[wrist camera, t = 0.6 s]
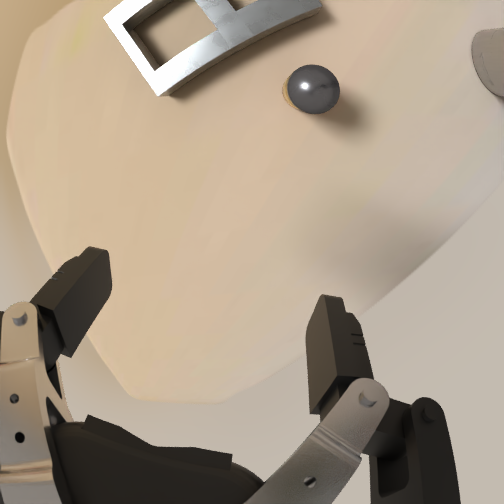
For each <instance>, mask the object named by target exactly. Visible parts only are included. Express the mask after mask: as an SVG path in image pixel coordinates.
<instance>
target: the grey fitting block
mask: <svg viewBox="0 0 504 504" xmlns="http://www.w3.org/2000/svg"><path fill="white" fill-rule="evenodd" d="M171 1H173V0H124V1H123V2H122V3H120V4H119V5H118V6H117V7H116V8H114V9H113V10H112V11H111V12H110V13H108V14H107V15H106V16H105V17H104V19H105V20H106V22H107V23H108V25H109V26H110V28H111V29H112V31H113V32H114V33H115V35H116V36H117V38H118V39H119V41H120V42H121V43H122V45H123V46H124V48H125V49H126V51H127V52H128V54H129V55H130V56H131V58H132V59H133V61H134V62H135V64H136V65H137V67H138V68H139V70H140V71H141V72H142V74H143V75H144V77H145V78H146V80H147V81H148V83H149V84H150V86H151V87H152V89H153V90H154V91H155V93H156V94H157V96H168V95H170V94H171V93H173V92H174V91H175V90H177V89H178V88H180V87H181V86H183V85H184V84H185V83H187V82H188V81H190V80H191V79H193V78H194V77H196V76H198V75H199V74H201V73H202V72H204V71H205V70H207V69H208V68H210V67H212V66H213V65H215V64H217V63H218V62H220V61H222V60H223V59H225V58H227V57H228V56H230V55H232V54H234V53H235V52H237V51H239V50H241V49H243V48H244V47H246V46H248V45H250V44H252V43H254V42H256V41H258V40H260V39H262V38H264V37H266V36H268V35H270V34H272V33H274V32H276V31H278V30H280V29H282V28H284V27H287V26H289V25H291V24H293V23H296V22H298V21H300V20H303V19H305V18H308V17H310V16H313V15H315V14H318V12H319V10H320V9H321V7H322V4H321V3H320V2H319V0H258V1H256V2H253V3H251V4H249V5H247V6H245V7H243V8H241V9H239V10H237V11H235V10H234V8H233V7H232V6H231V5H230V3H229V2H228V1H227V0H195V1H196V2H197V3H198V5H199V6H200V7H201V8H202V10H203V11H204V12H205V13H206V15H207V16H208V17H209V19H210V20H211V21H212V23H213V24H214V25H215V27H216V28H217V29H218V30H216V31H215V32H213V33H211V34H210V35H208V36H206V37H205V38H203V39H201V40H200V41H198V42H197V43H195V44H193V45H192V46H190V47H189V48H187V49H186V50H184V51H183V52H181V53H180V54H178V55H177V56H175V57H174V58H173V59H171V60H170V61H168V62H167V63H166V64H164V65H163V66H161V67H160V66H159V65H158V63H157V62H156V60H155V59H154V57H153V56H152V55H151V53H150V52H149V50H148V49H147V48H146V46H145V45H144V43H143V42H142V40H141V39H140V38H139V36H138V35H137V33H136V32H135V31H134V28H135V27H136V26H137V25H139V24H140V23H141V22H143V21H144V20H145V19H147V18H148V17H149V16H151V15H152V14H154V13H155V12H156V11H158V10H159V9H161V8H162V7H164V6H165V5H167V4H168V3H170V2H171Z"/></svg>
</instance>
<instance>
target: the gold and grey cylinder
mask: <svg viewBox="0 0 504 504" xmlns="http://www.w3.org/2000/svg"><path fill="white" fill-rule="evenodd" d="M282 91H283V96H284V98H285V100H286V102H287V103H288V104H289V105H290V106H292V107H294V108H296V109H299V110H301V111H304V112H306V113H310V114H321V113H324V112H327V111H328V110H330V109H331V108H332V107H333V106H334V105H335V104H336V103H337V101H338V98H339V94H340V88H339V83H338V81H337V79H336V77H335V76H334V75H333V73H332V72H330V71H329V70H328V69H326V68H324V67H322V66H319V65H305V66H302V67H300V68H298V69H297V70H295V71H294V72H293V73H292V74H291V75H290V76H289V77H288V78H287V79H286V81H285V82H284V85H283V90H282Z"/></svg>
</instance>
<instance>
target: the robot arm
mask: <svg viewBox="0 0 504 504" xmlns="http://www.w3.org/2000/svg"><path fill="white" fill-rule="evenodd" d="M472 57H473V62H474V65H475V68H476V71H477V73H478V75H479V77H480V79H481V80H482V82H483V83H484V85H485V86H486V87H487V88H488V89H489V90H490V91H491V92H492V93H494V94H496V95H499V96H503V97H504V28H498V29H490V30H483V31H480V32H478V33H477V34H476V36H475V37H474V40H473V43H472ZM111 290H112V277H111V269H110V259H109V253H108V251H107V250H104V249H99V248H95V247H91V246H90V247H88V248H86V249H85V250H84V251H83V253H82V254H81V255H80V256H79V257H77V256H76V257H74V258H72V259H70V260H68V261H67V262H65V263H64V264H63V265H62V266H61V267H60V268H59V269H58V272H56V273H55V274H54V275H53V276H52V278H51V279H49V280H48V281H47V283H46V284H45V285H44V286H43V287H42V288H41V289H40V290H39V292H38V293H37V294H36V295H35V296H34V297H33V298H32V300H31V301H30V302H18V303H15V304H13V305H11V306H10V307H9V308H8V309H7V310H6V311H5V312H3V311H0V504H332V502H333V501H334V500H335V498H336V497H337V496H338V495H339V493H340V492H341V490H342V489H343V488H344V486H345V485H346V484H347V482H348V481H349V480H350V478H351V477H352V475H353V474H354V472H355V471H356V469H357V468H358V466H359V464H360V462H361V460H362V458H361V457H360V454H361V453H363V454H367V455H369V464H370V491H371V504H461V502H460V493H459V486H458V480H457V472H456V466H455V461H454V455H453V450H452V446H451V440H450V436H449V432H448V427H447V423H446V419H445V415H444V412H443V410H442V408H441V406H440V405H439V404H438V403H437V402H436V401H434V400H433V399H431V398H427V397H422V398H419V399H417V400H416V401H415V402H414V403H413V404H412V405H410V404H406V403H403V402H400V401H397V400H394V399H391V398H389V395H388V392H387V391H386V389H385V388H384V387H383V386H382V385H381V384H380V383H379V382H377V381H375V380H374V377H373V372H372V368H371V364H370V360H369V356H368V352H367V348H366V346H365V340H364V337H363V333H362V329H361V325H360V323H359V322H358V320H357V319H356V317H355V316H354V315H353V313H347V312H346V310H345V306H344V302H343V299H342V298H341V297H335V296H329V295H323V294H322V295H321V296H320V297H319V300H318V302H317V304H316V307H315V309H314V312H313V314H312V316H311V319H310V321H309V324H308V326H307V331H306V354H307V369H308V385H309V406H310V407H309V408H310V414H319V415H320V423H319V425H318V426H317V427H316V428H315V429H314V430H313V432H312V433H311V434H310V435H309V436H308V437H307V439H306V440H305V441H304V442H303V443H302V444H301V445H300V446H299V447H298V449H297V450H296V451H295V452H294V453H293V454H292V455H291V456H290V457H289V458H288V459H287V460H286V462H284V464H283V465H281V467H279V469H278V470H276V471H275V472H274V473H273V474H272V475H271V476H270V477H269V478H268V479H267V480H266V481H265V482H263V481H262V480H261V479H260V478H259V477H257V476H256V475H255V474H254V473H253V472H251V471H249V470H248V469H246V468H244V467H242V466H240V465H238V464H236V463H233V462H232V454H229V453H223V452H217V451H211V450H206V449H201V448H196V447H157V446H152V445H150V444H148V443H147V442H145V441H143V440H141V439H140V438H138V437H136V436H135V435H133V434H131V433H130V432H128V431H126V430H125V429H123V428H122V427H120V426H117V425H114V424H112V423H109V422H106V421H103V420H101V419H98V418H95V417H93V416H91V415H88V416H87V418H86V420H85V422H74V421H73V418H72V416H71V413H70V411H69V409H68V406H67V402H66V398H65V393H64V389H63V384H62V379H61V373H60V367H59V362H58V360H57V359H58V357H59V356H60V354H63V355H65V356H67V357H70V358H71V357H72V356H73V354H74V352H75V351H76V349H77V347H78V346H79V344H80V342H81V340H82V339H83V337H84V336H85V334H86V332H87V331H88V329H89V328H90V326H91V324H92V323H93V321H94V320H95V318H96V317H97V315H98V314H99V312H100V310H101V309H102V307H103V306H104V304H105V303H106V301H107V300H108V298H109V296H110V294H111Z"/></svg>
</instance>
